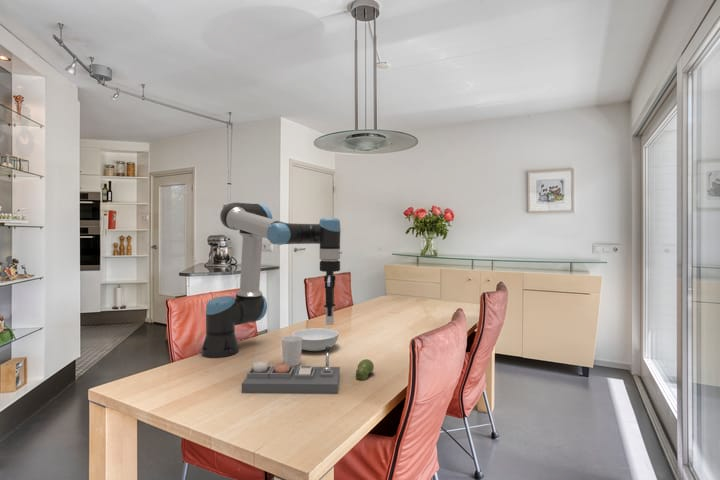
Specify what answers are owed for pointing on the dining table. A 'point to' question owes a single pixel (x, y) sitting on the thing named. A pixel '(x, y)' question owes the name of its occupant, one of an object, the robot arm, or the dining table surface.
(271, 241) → the robot arm
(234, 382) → the dining table surface
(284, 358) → the white cup
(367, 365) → the green rounded piece
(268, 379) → the switch panel
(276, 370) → the terracotta button
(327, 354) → the toggle lever
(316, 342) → the serving bowl
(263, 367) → the cream button
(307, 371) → the rocker switch
